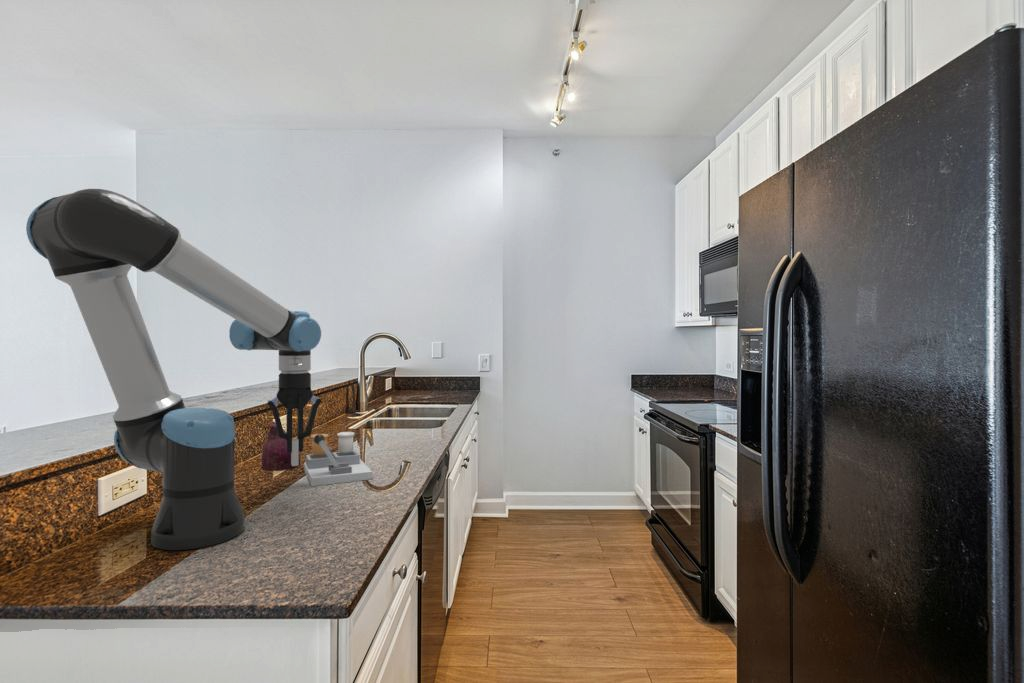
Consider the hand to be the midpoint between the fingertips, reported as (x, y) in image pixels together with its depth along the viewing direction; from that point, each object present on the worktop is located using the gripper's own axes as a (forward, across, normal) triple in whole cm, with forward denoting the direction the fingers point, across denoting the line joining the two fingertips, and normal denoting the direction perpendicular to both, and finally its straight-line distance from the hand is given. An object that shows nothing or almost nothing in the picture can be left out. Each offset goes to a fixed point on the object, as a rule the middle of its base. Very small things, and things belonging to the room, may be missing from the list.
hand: (294, 464), depth 132 cm
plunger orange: (0, +7, +9) cm, 11 cm away
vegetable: (+5, -2, +21) cm, 22 cm away
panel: (+5, +11, +5) cm, 13 cm away
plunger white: (0, +14, +9) cm, 17 cm away
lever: (+3, +11, 0) cm, 11 cm away
